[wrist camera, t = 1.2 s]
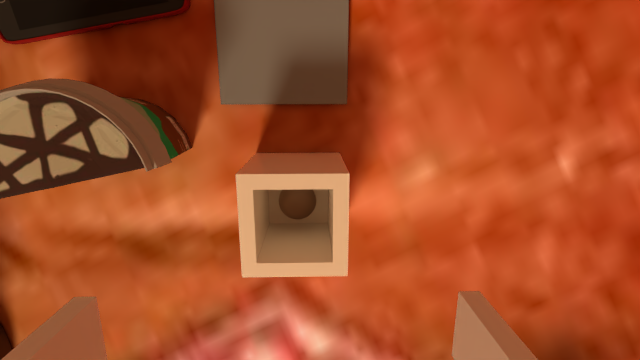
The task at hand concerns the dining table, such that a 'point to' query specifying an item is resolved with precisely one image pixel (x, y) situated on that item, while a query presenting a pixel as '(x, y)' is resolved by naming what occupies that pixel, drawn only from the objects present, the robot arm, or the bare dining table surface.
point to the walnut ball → (297, 203)
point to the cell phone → (76, 16)
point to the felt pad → (282, 51)
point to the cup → (286, 233)
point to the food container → (79, 135)
